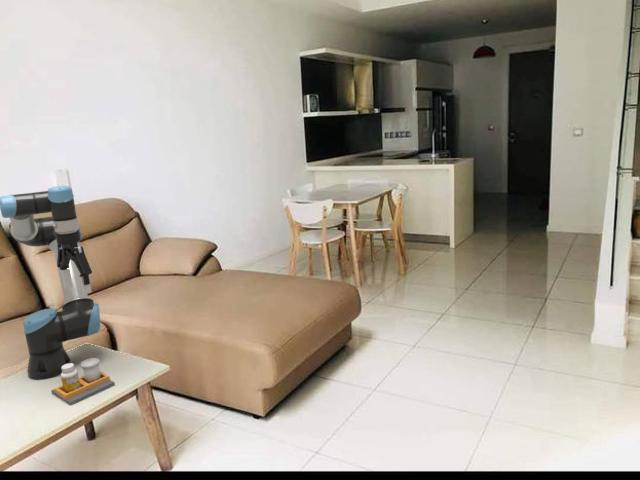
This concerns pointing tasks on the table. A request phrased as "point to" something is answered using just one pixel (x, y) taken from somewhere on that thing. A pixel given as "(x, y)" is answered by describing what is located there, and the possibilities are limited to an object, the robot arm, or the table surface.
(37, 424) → the table surface
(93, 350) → the table surface
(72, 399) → the orange bottle caddy
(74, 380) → the supplement bottle
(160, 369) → the table surface
